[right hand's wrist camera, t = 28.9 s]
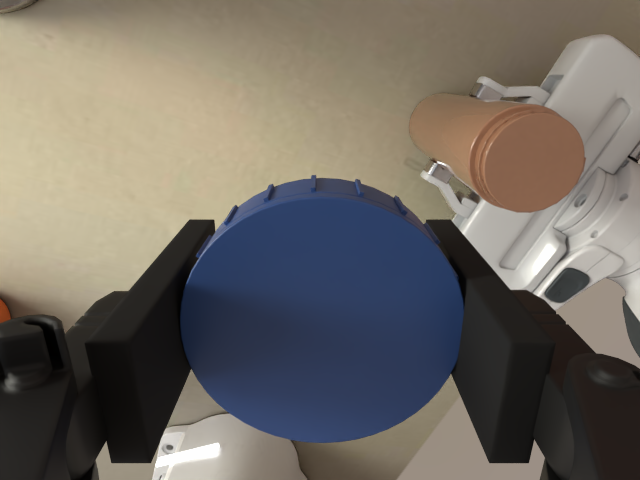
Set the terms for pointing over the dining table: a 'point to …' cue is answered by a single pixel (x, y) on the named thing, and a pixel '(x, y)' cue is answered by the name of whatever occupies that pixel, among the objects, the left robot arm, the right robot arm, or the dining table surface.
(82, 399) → the right robot arm
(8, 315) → the cup with straw
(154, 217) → the dining table surface
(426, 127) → the jar
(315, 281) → the lid
